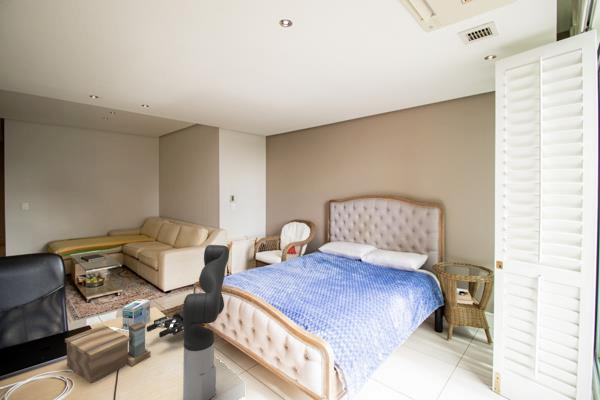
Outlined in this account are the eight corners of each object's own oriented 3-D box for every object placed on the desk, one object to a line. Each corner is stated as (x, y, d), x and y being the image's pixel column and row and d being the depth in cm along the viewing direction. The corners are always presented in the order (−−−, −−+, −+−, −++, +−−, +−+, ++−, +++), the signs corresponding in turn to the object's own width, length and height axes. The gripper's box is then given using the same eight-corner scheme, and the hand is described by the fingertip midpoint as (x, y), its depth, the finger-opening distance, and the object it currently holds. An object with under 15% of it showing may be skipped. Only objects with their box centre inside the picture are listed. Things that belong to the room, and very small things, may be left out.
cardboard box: (150, 356, 109) (150, 331, 109) (93, 386, 92) (93, 356, 92) (121, 341, 120) (121, 318, 119) (64, 366, 102) (64, 338, 102)
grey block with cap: (145, 357, 109) (145, 324, 109) (134, 362, 105) (134, 329, 105) (139, 354, 111) (139, 321, 111) (128, 359, 107) (128, 326, 107)
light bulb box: (133, 331, 128) (134, 308, 128) (121, 329, 129) (121, 307, 129) (150, 321, 139) (150, 299, 138) (139, 319, 140) (139, 298, 140)
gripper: (176, 305, 131) (143, 318, 117) (197, 312, 124) (164, 327, 110) (176, 321, 131) (142, 336, 117) (197, 329, 124) (163, 346, 110)
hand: (153, 332), depth 114 cm, fingers open, 8 cm apart
